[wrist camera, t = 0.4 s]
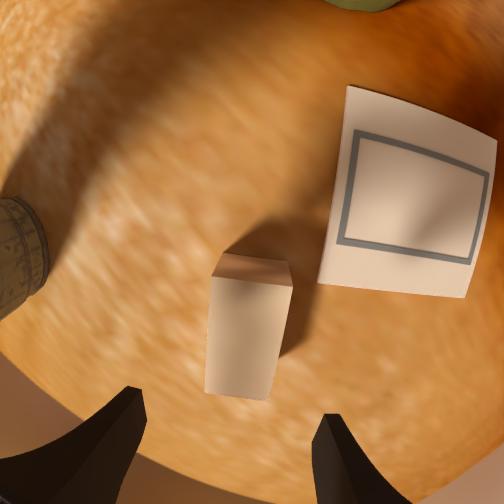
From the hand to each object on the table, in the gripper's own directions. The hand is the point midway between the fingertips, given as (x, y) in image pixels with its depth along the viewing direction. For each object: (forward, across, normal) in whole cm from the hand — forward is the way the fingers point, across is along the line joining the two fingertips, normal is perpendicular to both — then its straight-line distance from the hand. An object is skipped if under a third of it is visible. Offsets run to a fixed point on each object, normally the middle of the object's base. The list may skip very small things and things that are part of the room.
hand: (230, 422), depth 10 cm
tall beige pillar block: (+10, 0, 0) cm, 10 cm away
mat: (+9, -10, -9) cm, 16 cm away
